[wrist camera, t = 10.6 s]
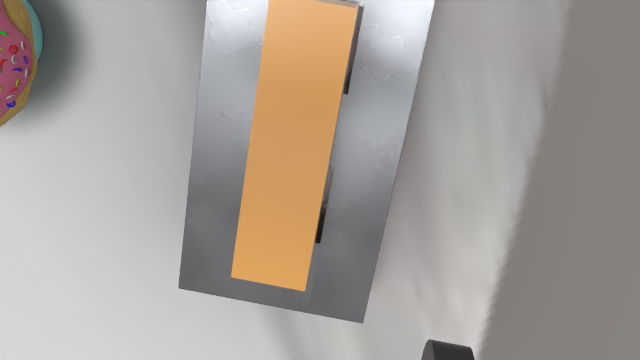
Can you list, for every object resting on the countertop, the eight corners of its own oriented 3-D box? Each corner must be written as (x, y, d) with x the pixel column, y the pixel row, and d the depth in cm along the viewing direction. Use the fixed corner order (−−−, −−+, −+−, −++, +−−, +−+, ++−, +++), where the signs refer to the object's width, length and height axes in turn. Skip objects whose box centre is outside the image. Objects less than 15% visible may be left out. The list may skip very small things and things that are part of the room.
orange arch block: (294, -14, 27) (269, -8, 21) (361, -2, 27) (357, 8, 20) (261, 211, 31) (230, 277, 24) (319, 222, 31) (304, 291, 24)
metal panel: (241, -110, 27) (219, -122, 23) (441, -74, 27) (452, -81, 23) (200, 251, 33) (178, 288, 29) (364, 282, 33) (362, 323, 29)
